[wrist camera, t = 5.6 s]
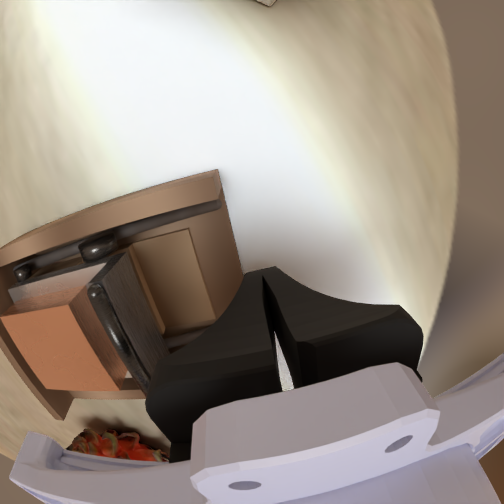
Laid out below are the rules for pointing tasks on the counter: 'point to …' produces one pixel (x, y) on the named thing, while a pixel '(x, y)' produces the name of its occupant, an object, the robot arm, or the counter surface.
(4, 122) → the counter surface
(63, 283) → the wheeled platform dolly
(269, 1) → the supplement box
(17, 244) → the brown wooden open box
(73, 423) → the counter surface
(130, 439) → the dragon fruit
